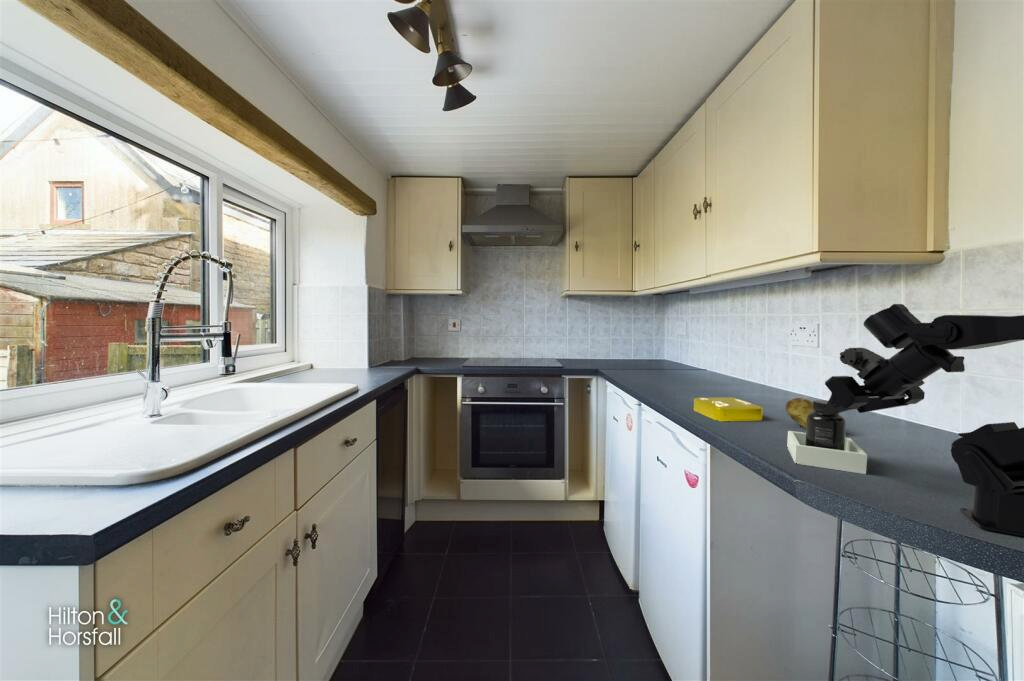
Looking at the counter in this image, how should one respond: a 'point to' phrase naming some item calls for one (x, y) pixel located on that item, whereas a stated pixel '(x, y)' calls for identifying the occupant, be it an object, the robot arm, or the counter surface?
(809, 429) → the supplement bottle
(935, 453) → the counter surface
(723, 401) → the element tile
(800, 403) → the potato
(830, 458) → the sage tray
